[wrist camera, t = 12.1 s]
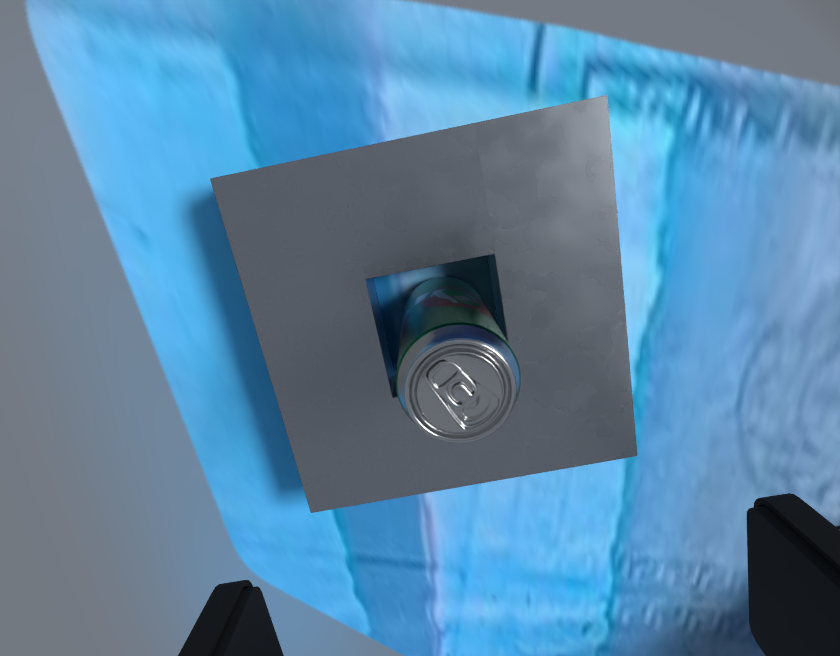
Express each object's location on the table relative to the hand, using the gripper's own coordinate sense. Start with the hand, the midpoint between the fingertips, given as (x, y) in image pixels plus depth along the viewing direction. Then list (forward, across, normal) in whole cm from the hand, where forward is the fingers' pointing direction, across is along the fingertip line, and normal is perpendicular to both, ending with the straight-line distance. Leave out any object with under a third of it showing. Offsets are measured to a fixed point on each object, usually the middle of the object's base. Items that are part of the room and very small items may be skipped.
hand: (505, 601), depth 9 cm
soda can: (+22, 0, 0) cm, 22 cm away
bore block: (+22, +1, -1) cm, 22 cm away
